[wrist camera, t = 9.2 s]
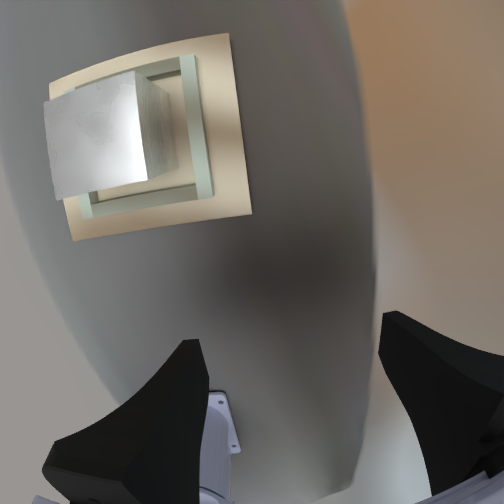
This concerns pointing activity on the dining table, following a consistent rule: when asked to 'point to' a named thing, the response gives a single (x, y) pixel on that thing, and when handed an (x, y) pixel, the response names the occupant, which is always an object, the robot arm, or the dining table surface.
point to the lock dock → (186, 139)
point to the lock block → (109, 135)
